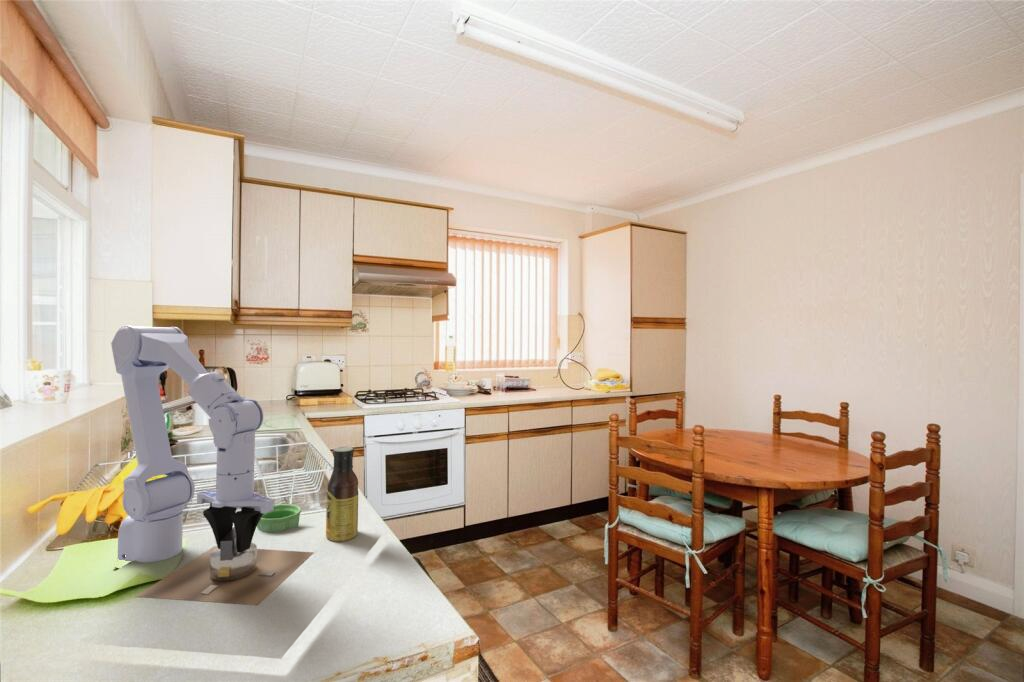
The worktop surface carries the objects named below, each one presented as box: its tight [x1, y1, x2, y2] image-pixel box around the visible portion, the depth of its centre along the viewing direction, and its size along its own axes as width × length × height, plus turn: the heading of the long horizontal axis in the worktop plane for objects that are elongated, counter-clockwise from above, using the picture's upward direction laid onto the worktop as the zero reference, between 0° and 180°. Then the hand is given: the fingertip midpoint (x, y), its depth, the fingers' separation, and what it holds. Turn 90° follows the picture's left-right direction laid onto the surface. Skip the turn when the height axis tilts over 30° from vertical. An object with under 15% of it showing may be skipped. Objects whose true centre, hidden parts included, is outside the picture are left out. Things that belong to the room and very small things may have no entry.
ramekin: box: [256, 503, 302, 533], centre depth 105 cm, size 9×9×4 cm
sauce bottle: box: [325, 445, 359, 543], centre depth 100 cm, size 7×6×20 cm
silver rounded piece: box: [210, 525, 258, 581], centre depth 83 cm, size 8×7×7 cm
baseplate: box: [135, 545, 315, 606], centre depth 84 cm, size 20×18×2 cm
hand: (233, 548), depth 83 cm, fingers closed on silver rounded piece, 4 cm apart
